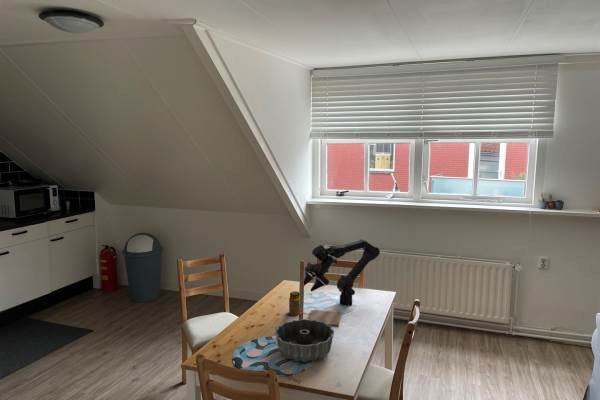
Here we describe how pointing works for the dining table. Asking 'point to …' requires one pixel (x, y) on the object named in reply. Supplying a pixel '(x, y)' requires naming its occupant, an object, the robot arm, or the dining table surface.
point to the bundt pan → (304, 339)
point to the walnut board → (326, 317)
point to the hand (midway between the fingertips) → (306, 288)
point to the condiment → (293, 305)
